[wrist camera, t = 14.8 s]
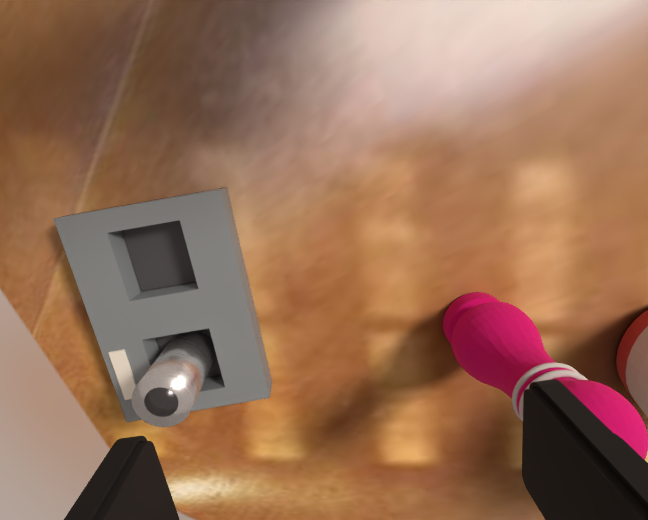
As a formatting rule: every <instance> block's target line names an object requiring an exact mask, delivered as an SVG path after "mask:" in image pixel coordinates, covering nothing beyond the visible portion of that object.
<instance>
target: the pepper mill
mask: <svg viewBox="0 0 648 520" xmlns="http://www.w3.org/2000/svg"><path fill="white" fill-rule="evenodd" d="M443 331H444V334H445V336H446V338H447V340H448V341H449V342H450V344H451V345H452V350H453V353H454V356H455V358H456V360H457V361H458V363H459V364H460V366H461V367H462V368H463V369H464V370H465V371H466V372H467V373H468V374H469V375H471V376H472V377H474V378H475V379H477V380H479V381H480V382H482V383H485V384H488V385H490V386H493V387H496V388H498V389H500V390H502V391H504V392H505V393H506V394H507V395H508V396H509V397H510V398H512V405H513V409H514V411H515V413H516V415H517V416H518V418H519V419H521V420H522V422H523V394H524V391H525V390H526V389H529V386H530V384H531V383H532V382H537V381H544V380H551V379H557V380H559V381H560V382H561V383H562V384H563V385H564V386H565V387H566V388H568V389H569V390H570V391H571V392H572V393H573V394H574V395H575V396H576V397H577V398H578V399H579V400H580V401H581V402H582V403H583V404H584V405H585V406H586V407H587V408H588V409H589V410H590V411H591V412H592V413H593V414H594V415H595V416H596V417H597V418H598V419H599V420H600V421H601V422H603V423H604V424H605V425H606V426H607V427H608V428H609V429H610V430H611V431H612V432H613V433H614V434H617V435H618V436H619V437H621V438H622V439H623V440H624V441H625V442H626V443H627V444H628V445H629V446H630V447H632V448H633V449H634V450H635V451H636V452H637V453H638V454H639V455H640V456H641V457H642V458H643V459H644V460H645V458H646V455H647V451H648V434H647V430H646V426H645V424H644V422H643V420H642V418H641V416H640V415H639V413H638V412H637V410H636V409H635V408H634V407H633V405H632V404H631V403H630V402H629V401H628V400H627V399H625V398H624V397H623V396H622V395H621V394H619V393H618V392H616V391H615V390H613V389H612V388H610V387H608V386H606V385H604V384H601V383H598V382H595V381H589V380H588V379H586V378H585V377H584V376H583V375H581V374H579V373H578V372H577V370H575V369H574V368H573V367H571V366H569V365H566V364H563V363H555V362H554V360H553V359H552V358H551V357H550V356H549V355H548V354H547V353H546V351H545V350H544V347H543V343H542V340H541V337H540V333H539V331H538V330H537V328H536V326H535V325H534V323H533V321H532V320H531V319H530V318H529V317H528V316H527V315H526V314H525V313H524V312H522V311H521V310H520V309H519V308H517V307H515V306H513V305H511V304H508V303H504V302H500V301H498V300H497V299H496V298H494V297H493V296H491V295H489V294H486V293H480V292H476V293H469V294H465V295H463V296H461V297H459V298H458V299H456V300H455V301H454V302H453V303H452V304H451V305H450V306H449V308H448V309H447V311H446V312H445V315H444V318H443Z"/></svg>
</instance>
